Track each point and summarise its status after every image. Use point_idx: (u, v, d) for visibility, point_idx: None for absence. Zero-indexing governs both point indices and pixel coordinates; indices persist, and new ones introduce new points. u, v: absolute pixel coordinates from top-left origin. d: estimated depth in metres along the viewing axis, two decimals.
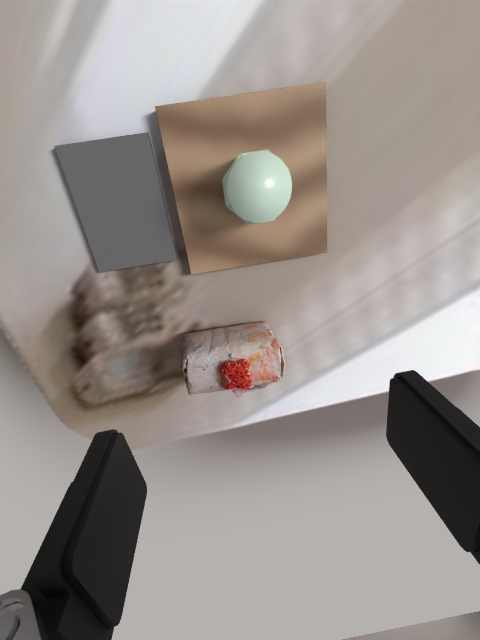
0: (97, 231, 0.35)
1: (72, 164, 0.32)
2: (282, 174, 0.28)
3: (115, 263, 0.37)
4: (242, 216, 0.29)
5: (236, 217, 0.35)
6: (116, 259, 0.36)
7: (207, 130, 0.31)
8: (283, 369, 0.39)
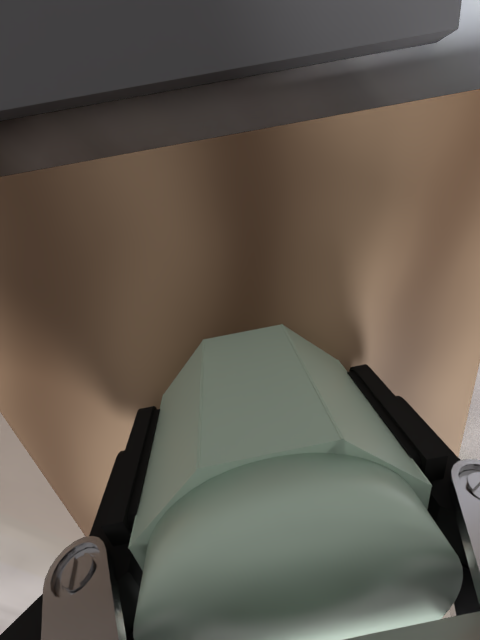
0: None
1: None
2: None
3: None
4: (157, 595, 0.05)
5: (166, 374, 0.10)
6: None
7: (422, 276, 0.10)
8: None
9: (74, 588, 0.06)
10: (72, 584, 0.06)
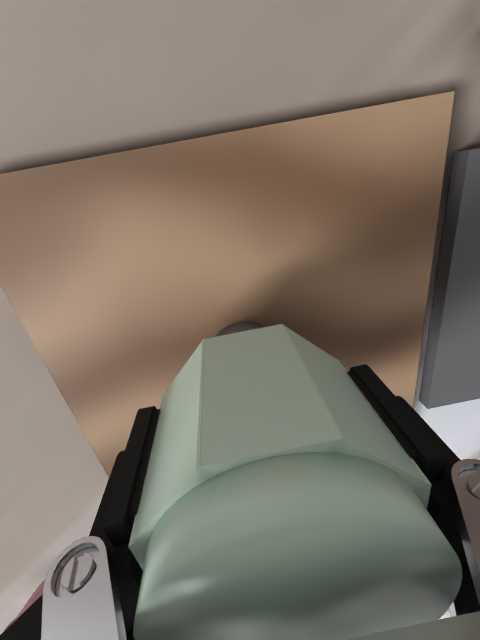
0: None
1: None
2: None
3: None
4: (158, 594, 0.05)
5: (282, 288, 0.13)
6: None
7: None
8: None
9: (75, 587, 0.06)
10: (72, 584, 0.06)
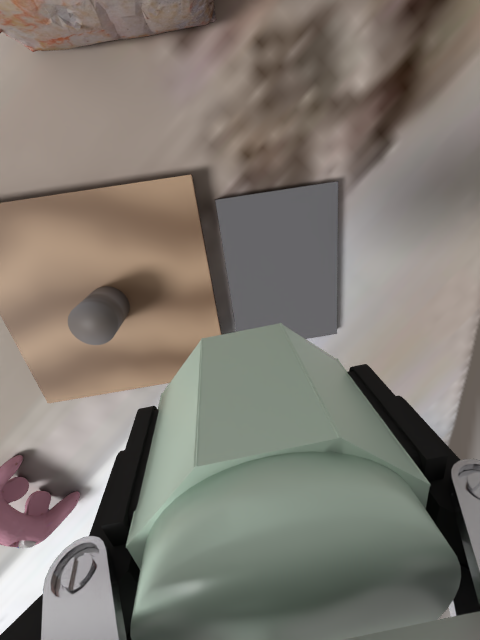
0: (321, 244, 0.25)
1: (324, 318, 0.28)
2: None
3: (310, 196, 0.24)
4: (154, 594, 0.05)
5: (124, 268, 0.24)
6: (307, 202, 0.24)
7: (172, 358, 0.28)
8: None
9: (75, 587, 0.06)
10: (72, 584, 0.06)
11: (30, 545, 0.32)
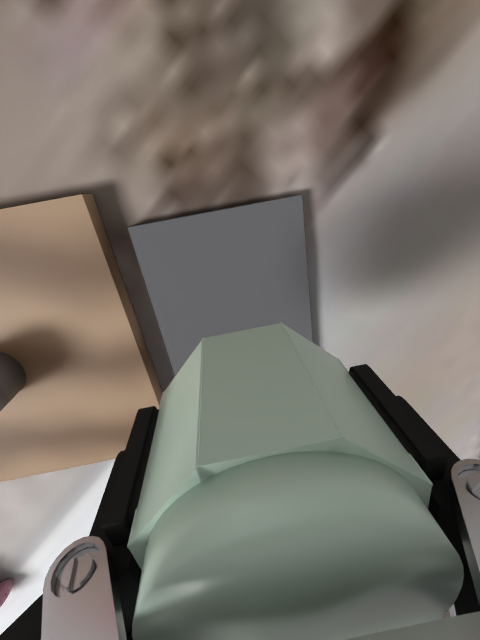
0: (285, 281, 0.18)
1: None
2: None
3: (263, 216, 0.17)
4: (156, 594, 0.05)
5: (8, 325, 0.17)
6: (260, 225, 0.17)
7: (96, 433, 0.21)
8: None
9: (75, 587, 0.06)
10: (72, 584, 0.06)
11: None
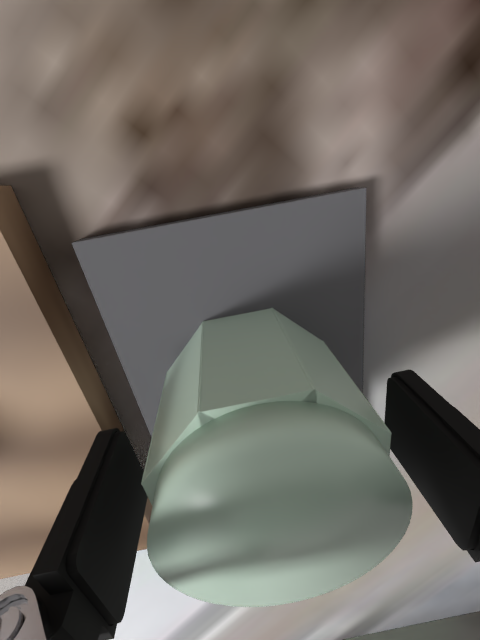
0: (328, 324, 0.12)
1: None
2: (325, 579, 0.08)
3: (300, 224, 0.10)
4: (167, 506, 0.06)
5: None
6: (293, 238, 0.10)
7: (46, 535, 0.14)
8: None
9: None
10: None
11: None
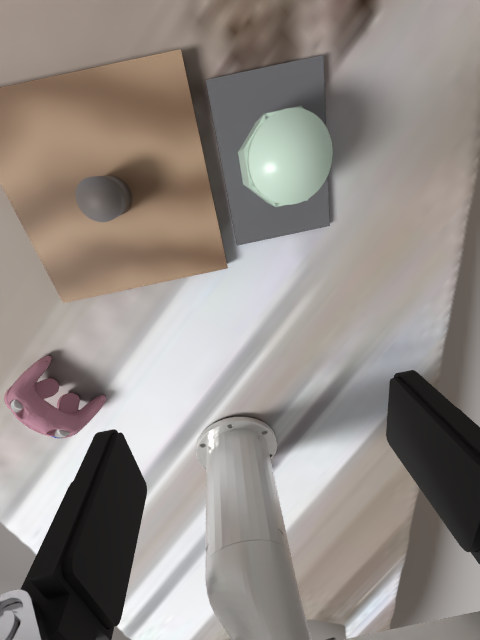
0: None
1: (317, 209, 0.30)
2: (306, 189, 0.23)
3: (296, 72, 0.24)
4: (257, 134, 0.21)
5: (124, 155, 0.25)
6: (294, 79, 0.25)
7: (174, 252, 0.30)
8: None
9: None
10: None
11: (65, 434, 0.35)
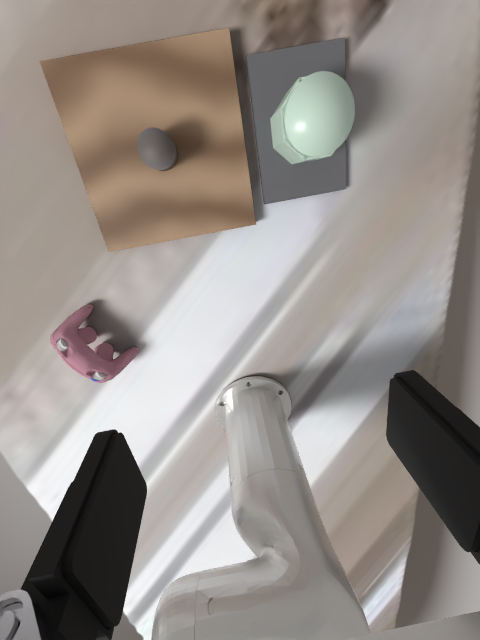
0: None
1: (335, 173, 0.34)
2: (331, 143, 0.27)
3: (322, 51, 0.29)
4: (294, 92, 0.25)
5: (174, 117, 0.30)
6: (320, 57, 0.29)
7: (210, 207, 0.34)
8: None
9: None
10: None
11: (102, 376, 0.38)
